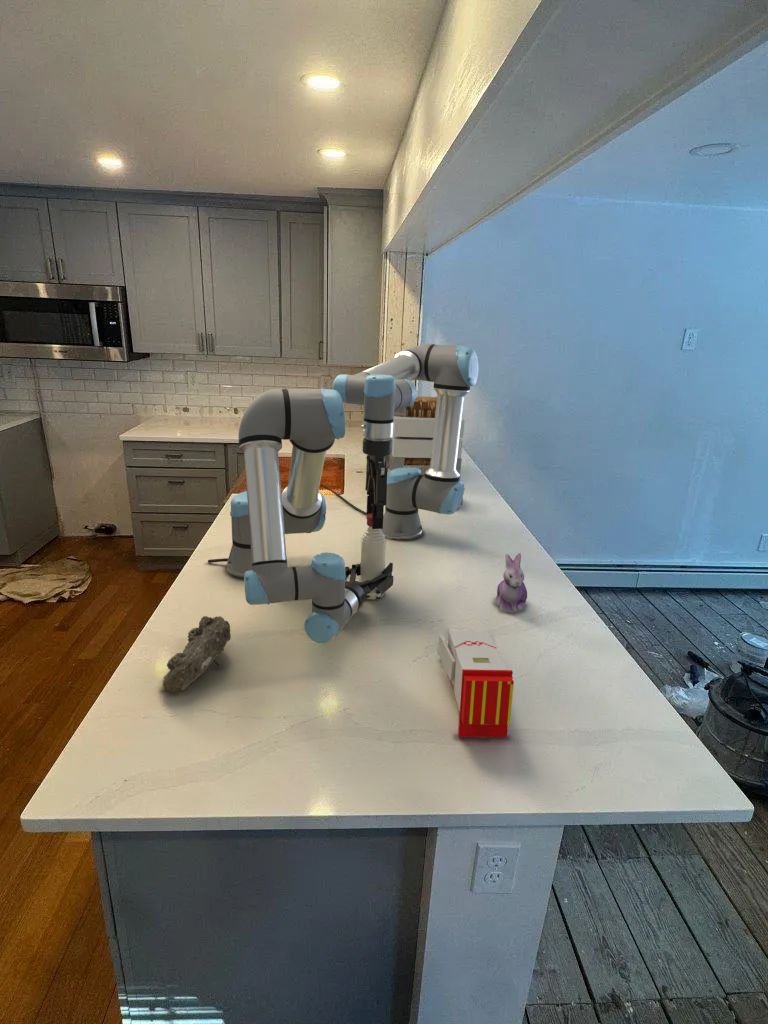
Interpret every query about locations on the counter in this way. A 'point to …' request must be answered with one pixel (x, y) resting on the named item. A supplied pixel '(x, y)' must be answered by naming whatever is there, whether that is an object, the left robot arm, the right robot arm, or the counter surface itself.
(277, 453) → the left robot arm
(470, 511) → the counter surface
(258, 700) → the counter surface
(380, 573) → the bottle
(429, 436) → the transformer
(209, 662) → the fossil
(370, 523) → the cap
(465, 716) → the toy
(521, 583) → the figurine
